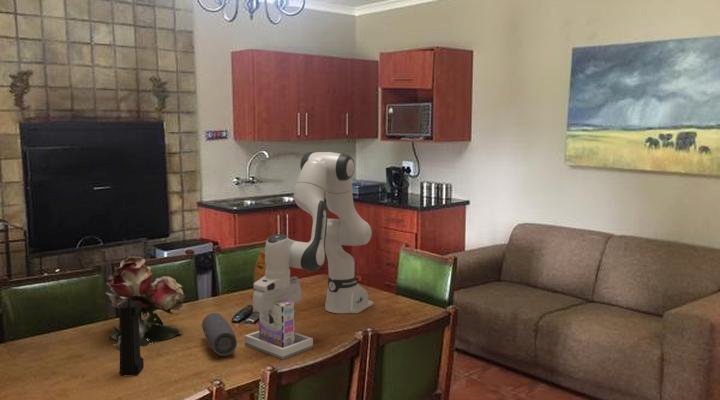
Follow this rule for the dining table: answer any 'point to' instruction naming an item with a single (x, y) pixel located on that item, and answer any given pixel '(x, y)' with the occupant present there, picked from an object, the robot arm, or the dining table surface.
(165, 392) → the dining table surface
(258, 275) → the coffee package
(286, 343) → the candy box
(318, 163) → the robot arm
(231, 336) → the bluetooth speaker
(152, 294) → the rose bouquet
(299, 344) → the white tray
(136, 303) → the portable radio
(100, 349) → the dining table surface
